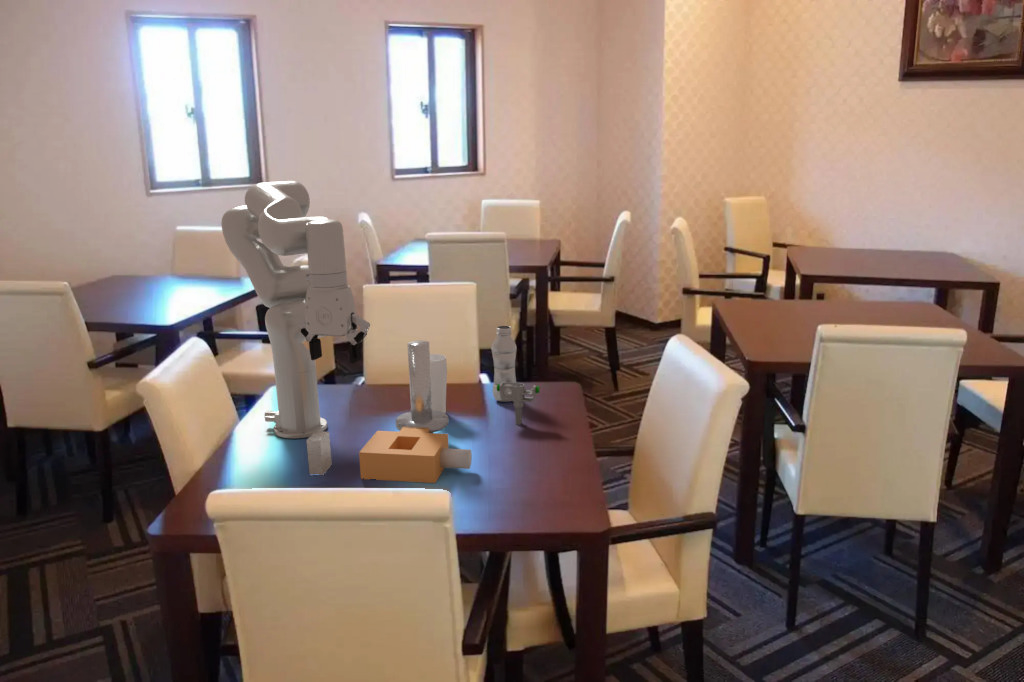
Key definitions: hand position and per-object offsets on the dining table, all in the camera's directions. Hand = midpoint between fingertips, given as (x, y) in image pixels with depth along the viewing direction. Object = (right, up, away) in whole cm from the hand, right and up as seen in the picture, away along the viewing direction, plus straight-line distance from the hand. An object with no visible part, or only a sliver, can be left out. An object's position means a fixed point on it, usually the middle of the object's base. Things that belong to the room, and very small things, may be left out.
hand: (336, 360), depth 171 cm
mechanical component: (+39, -16, +26) cm, 50 cm away
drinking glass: (+18, -15, +34) cm, 41 cm away
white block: (-4, -24, +2) cm, 24 cm away
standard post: (+17, -20, +15) cm, 30 cm away
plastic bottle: (+36, -12, +42) cm, 57 cm away
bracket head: (+18, -23, +3) cm, 29 cm away
